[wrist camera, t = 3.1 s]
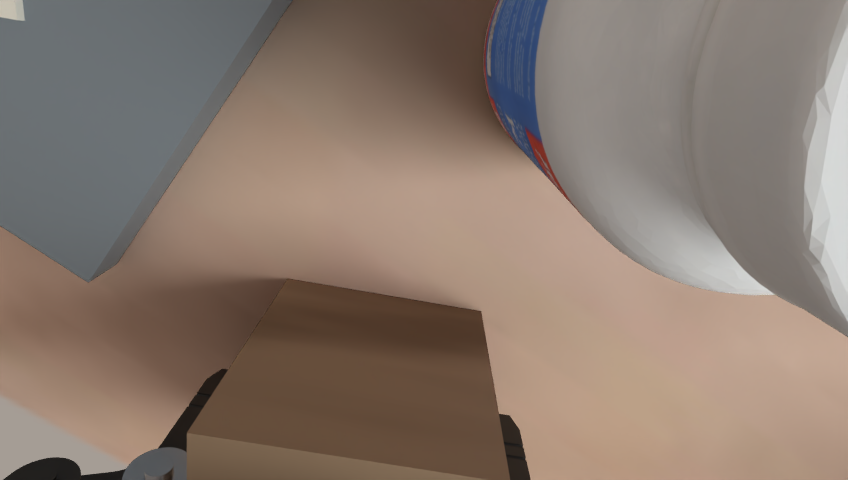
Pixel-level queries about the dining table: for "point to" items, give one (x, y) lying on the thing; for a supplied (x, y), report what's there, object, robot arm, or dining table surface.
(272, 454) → the walnut block
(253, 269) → the dining table surface
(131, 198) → the slate board
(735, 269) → the pill bottle
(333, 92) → the dining table surface
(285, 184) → the dining table surface
